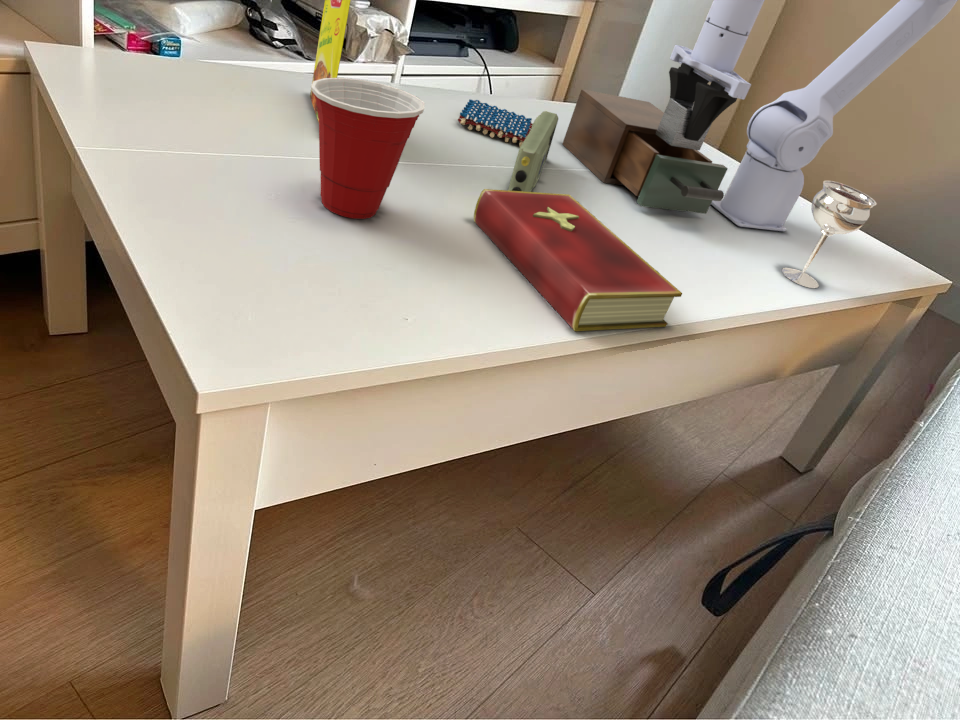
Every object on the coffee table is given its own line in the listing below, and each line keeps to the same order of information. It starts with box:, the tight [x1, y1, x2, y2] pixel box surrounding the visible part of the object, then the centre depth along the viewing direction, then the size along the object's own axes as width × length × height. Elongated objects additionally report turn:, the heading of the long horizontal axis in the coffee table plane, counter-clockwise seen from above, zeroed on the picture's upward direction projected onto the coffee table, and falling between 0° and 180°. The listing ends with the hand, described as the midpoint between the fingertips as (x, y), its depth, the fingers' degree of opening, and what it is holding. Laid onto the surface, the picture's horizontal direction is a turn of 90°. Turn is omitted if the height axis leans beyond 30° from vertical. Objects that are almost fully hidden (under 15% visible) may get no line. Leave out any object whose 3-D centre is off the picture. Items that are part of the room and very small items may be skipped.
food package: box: [309, 0, 352, 123], centre depth 92 cm, size 15×1×20 cm, turn 17°
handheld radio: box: [507, 110, 559, 192], centre depth 96 cm, size 7×3×25 cm
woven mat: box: [457, 98, 533, 148], centre depth 114 cm, size 10×11×2 cm
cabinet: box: [561, 88, 665, 187], centre depth 113 cm, size 14×13×9 cm
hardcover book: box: [473, 188, 683, 332], centre depth 79 cm, size 12×21×4 cm, turn 28°
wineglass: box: [781, 180, 878, 289], centre depth 95 cm, size 7×7×12 cm
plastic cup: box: [310, 77, 426, 220], centre depth 75 cm, size 11×11×12 cm
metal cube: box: [656, 97, 712, 151], centre depth 102 cm, size 5×4×5 cm
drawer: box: [612, 130, 728, 215], centre depth 105 cm, size 17×11×7 cm
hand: (681, 132), depth 102 cm, fingers closed on metal cube, 4 cm apart
